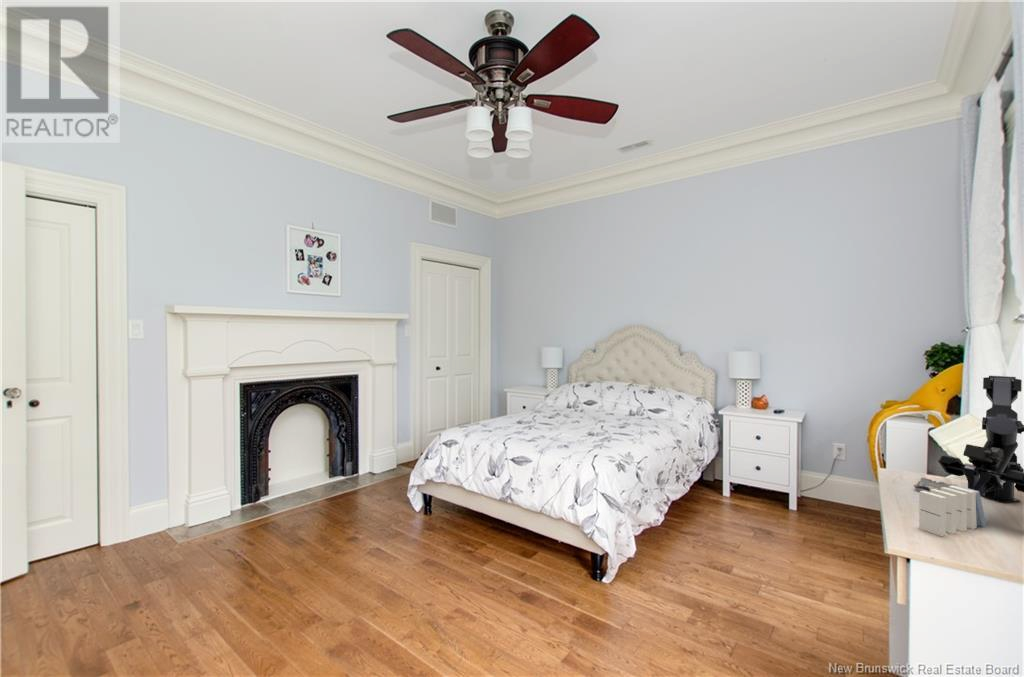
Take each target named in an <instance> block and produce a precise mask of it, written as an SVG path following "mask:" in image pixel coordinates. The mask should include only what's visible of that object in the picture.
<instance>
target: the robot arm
mask: <svg viewBox="0 0 1024 677" xmlns="http://www.w3.org/2000/svg"><path fill="white" fill-rule="evenodd" d="M982 380H983V382H982V389H983V390H986V391H985V393H986V394H985V396H986V397H987V399H989V401H990V402H991V407H990V408H988V409H986V410H985V416H983V417H982V421H981V430H983V431H984V430H985V435H986V439H987V440H986V442H985V443H984V445H983V446H978V445H974V444H973V445H972V444H966V445H965V448H964V450H963V455H962V456H965V457H967V458H968V459H967V461H968V463H967V462H966V463H963V461H962V460H961V458H960V457H956V456H955V457H954V456H951V455H947V454H946V455H941V456H940V457H939V458H938V461H937V462H938V463H939V465H940V467H942V469H943V470H944V472H946V473H947V474H949V475H952V476H956V477H961V476H962V477H963V476H965V477H966V479H967V488H969V489H973V490H976V491H979V493H980V497H983V498H986V499H989V500H993V501H996V502H998V503H1004V504H1006V503H1007V504H1009V503H1019V502H1021V500H1020V499H1018V498H1016V497H1015V489H1016V490H1017V492H1021V493H1024V468H1023V467H1022V465H1021V463H1018V456H1017V454H1016V453H1015V452H1016V450H1017V448H1018V447H1019V443H1018V442H1017V439H1018V434H1020V435H1022V433H1024V424H1023V422H1022V420H1019V418H1018V416H1019V415H1018V413H1017V412H1016V411H1015V410H1014V409H1012V404H1013V403H1014V402H1016V400H1017V399H1018V396H1019V392H1020V393H1021V392H1022V379H1020V378H1019V379H1018V378H1016V376H1008V375H1007V376H1005V375H988V377H982Z"/></svg>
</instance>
